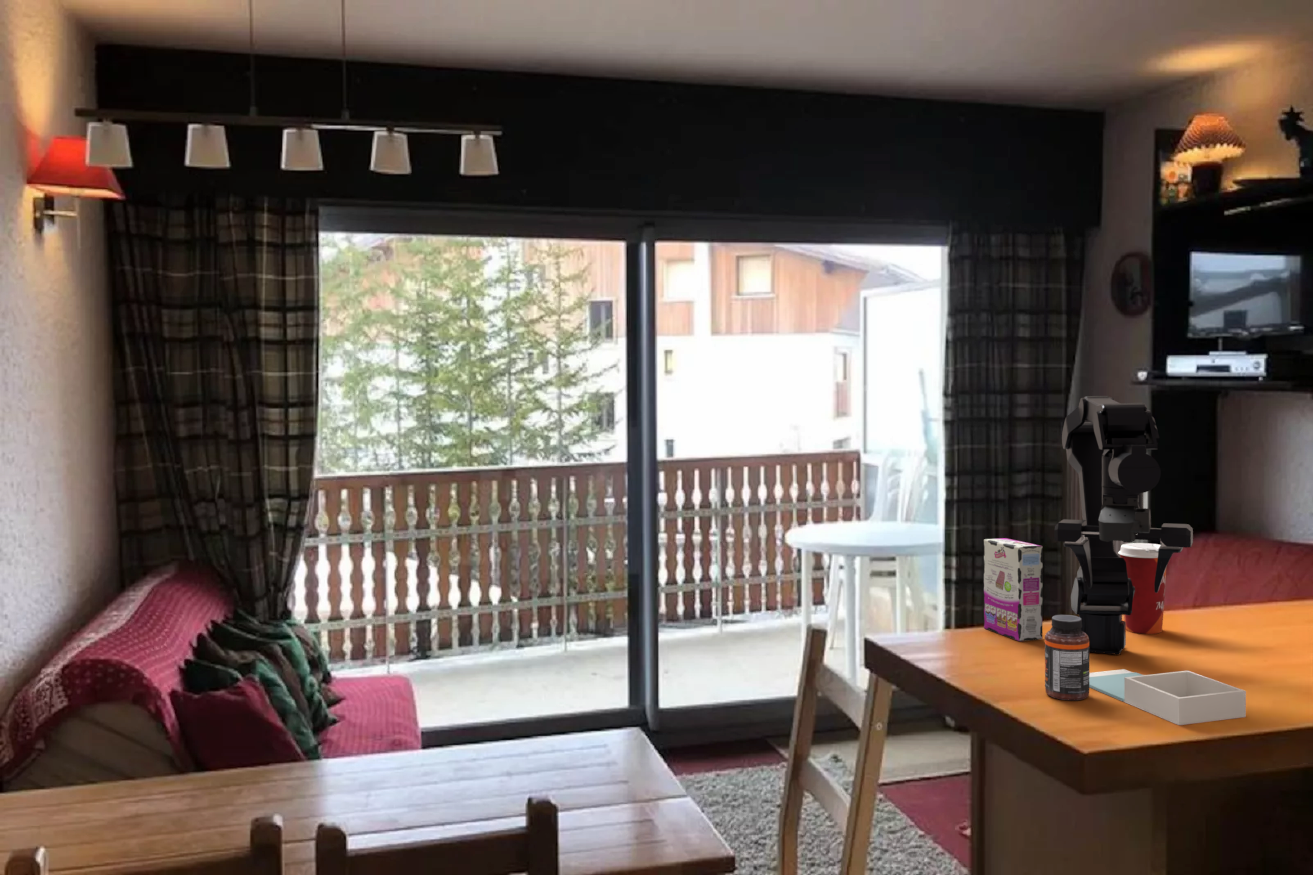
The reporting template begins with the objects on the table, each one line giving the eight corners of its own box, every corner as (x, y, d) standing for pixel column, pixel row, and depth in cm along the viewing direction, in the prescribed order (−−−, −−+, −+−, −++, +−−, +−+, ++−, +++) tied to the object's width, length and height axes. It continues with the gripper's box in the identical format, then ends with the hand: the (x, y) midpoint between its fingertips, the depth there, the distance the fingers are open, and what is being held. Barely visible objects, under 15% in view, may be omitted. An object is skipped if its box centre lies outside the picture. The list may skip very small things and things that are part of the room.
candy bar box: (1044, 640, 186) (1044, 545, 185) (1019, 642, 184) (1019, 547, 184) (1006, 626, 197) (1006, 536, 196) (982, 628, 195) (981, 538, 194)
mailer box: (1178, 725, 140) (1178, 698, 140) (1067, 677, 163) (1067, 655, 163) (1245, 716, 143) (1245, 690, 143) (1126, 671, 166) (1126, 648, 165)
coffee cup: (1177, 635, 187) (1178, 549, 186) (1129, 636, 187) (1130, 550, 186) (1155, 624, 195) (1156, 541, 194) (1110, 624, 195) (1110, 542, 195)
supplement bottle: (1046, 688, 158) (1045, 611, 157) (1089, 691, 156) (1089, 614, 155) (1043, 699, 153) (1043, 620, 152) (1089, 703, 150) (1089, 623, 150)
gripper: (1047, 489, 159) (1048, 594, 160) (1188, 493, 150) (1188, 604, 151) (1060, 483, 169) (1060, 582, 170) (1193, 486, 160) (1193, 591, 161)
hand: (1122, 590), depth 163 cm, fingers open, 9 cm apart
